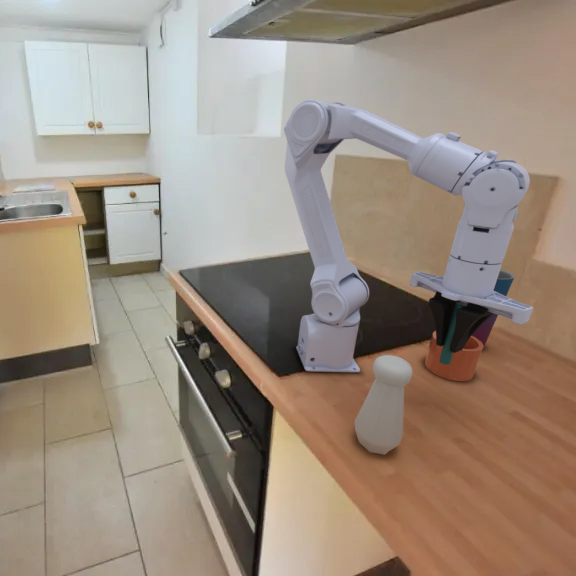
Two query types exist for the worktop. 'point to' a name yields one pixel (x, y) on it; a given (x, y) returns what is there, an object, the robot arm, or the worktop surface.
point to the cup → (485, 329)
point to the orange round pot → (455, 360)
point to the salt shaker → (384, 406)
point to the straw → (450, 337)
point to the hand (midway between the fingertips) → (448, 346)
